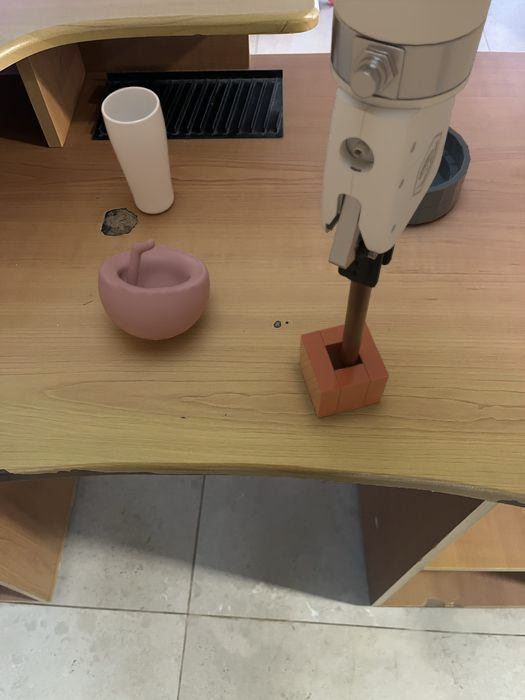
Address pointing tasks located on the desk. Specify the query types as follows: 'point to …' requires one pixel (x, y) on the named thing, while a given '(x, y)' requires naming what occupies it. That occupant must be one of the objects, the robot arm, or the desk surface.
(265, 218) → the desk surface
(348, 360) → the stirring stick
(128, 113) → the drinking glass
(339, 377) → the holder
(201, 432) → the desk surface
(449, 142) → the bowl
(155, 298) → the mortar and pestle
